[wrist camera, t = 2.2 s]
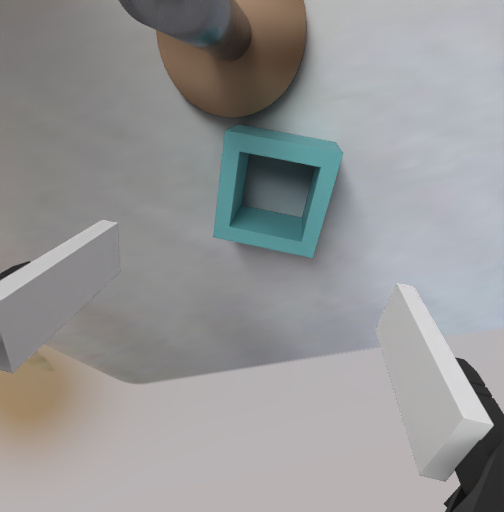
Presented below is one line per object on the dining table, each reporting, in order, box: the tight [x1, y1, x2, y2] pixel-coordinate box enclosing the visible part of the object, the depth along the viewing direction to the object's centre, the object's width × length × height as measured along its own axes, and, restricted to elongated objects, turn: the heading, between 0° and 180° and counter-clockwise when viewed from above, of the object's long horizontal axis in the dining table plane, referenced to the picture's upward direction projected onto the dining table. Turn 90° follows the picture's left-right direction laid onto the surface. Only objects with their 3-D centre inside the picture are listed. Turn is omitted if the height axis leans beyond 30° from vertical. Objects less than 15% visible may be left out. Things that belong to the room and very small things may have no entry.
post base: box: [156, 0, 306, 117], centre depth 25 cm, size 12×12×2 cm
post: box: [119, 0, 252, 61], centre depth 18 cm, size 4×4×14 cm
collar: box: [213, 124, 343, 258], centre depth 28 cm, size 9×9×6 cm
